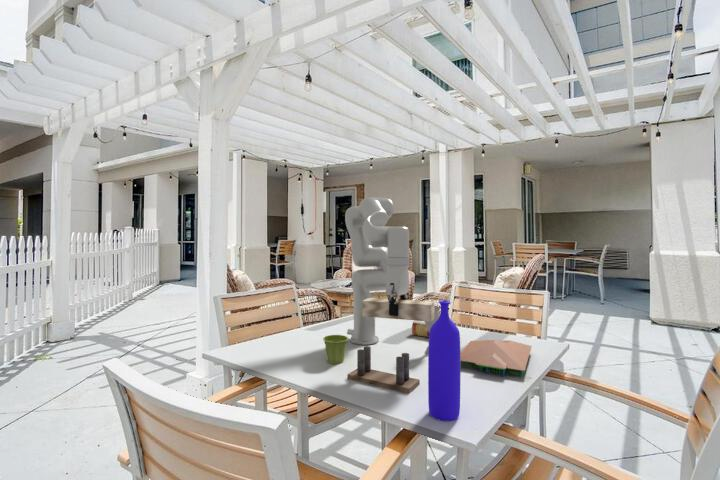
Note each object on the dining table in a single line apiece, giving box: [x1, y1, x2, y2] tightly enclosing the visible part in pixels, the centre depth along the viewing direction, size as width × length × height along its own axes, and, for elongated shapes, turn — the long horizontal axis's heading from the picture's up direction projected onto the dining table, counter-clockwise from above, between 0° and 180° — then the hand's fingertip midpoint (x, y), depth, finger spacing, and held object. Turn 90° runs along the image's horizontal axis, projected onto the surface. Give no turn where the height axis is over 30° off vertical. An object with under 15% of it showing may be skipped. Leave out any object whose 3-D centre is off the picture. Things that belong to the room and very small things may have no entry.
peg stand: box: [347, 345, 421, 394], centre depth 122 cm, size 22×8×10 cm, turn 59°
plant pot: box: [322, 334, 349, 365], centre depth 141 cm, size 9×9×9 cm
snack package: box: [411, 320, 429, 338], centre depth 172 cm, size 21×7×7 cm, turn 54°
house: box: [460, 339, 532, 378], centre depth 141 cm, size 23×33×8 cm
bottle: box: [427, 299, 461, 422], centre depth 100 cm, size 8×8×30 cm
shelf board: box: [362, 297, 436, 322], centre depth 131 cm, size 24×6×6 cm, turn 70°
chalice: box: [424, 306, 441, 355], centre depth 151 cm, size 7×7×18 cm
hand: (398, 313), depth 131 cm, fingers closed on shelf board, 7 cm apart
